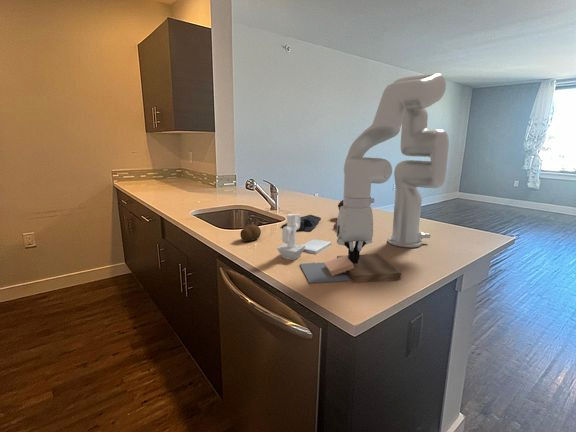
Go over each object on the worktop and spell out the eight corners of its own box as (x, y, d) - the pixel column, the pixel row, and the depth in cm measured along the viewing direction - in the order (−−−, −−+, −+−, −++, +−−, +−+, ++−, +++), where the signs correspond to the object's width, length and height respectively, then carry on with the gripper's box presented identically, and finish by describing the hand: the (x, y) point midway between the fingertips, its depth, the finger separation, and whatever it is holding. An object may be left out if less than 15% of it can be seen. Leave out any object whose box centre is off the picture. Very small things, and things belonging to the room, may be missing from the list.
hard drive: (312, 238, 127) (296, 246, 116) (331, 242, 122) (316, 250, 112) (312, 242, 127) (296, 251, 117) (331, 246, 123) (316, 255, 112)
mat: (336, 262, 104) (336, 261, 104) (350, 280, 91) (350, 279, 90) (299, 264, 102) (299, 263, 102) (309, 283, 89) (309, 282, 89)
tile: (346, 259, 100) (345, 255, 100) (354, 268, 93) (353, 263, 93) (325, 267, 99) (324, 262, 99) (331, 276, 93) (330, 271, 92)
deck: (377, 259, 107) (377, 253, 107) (400, 279, 92) (401, 272, 91) (336, 261, 105) (337, 255, 105) (353, 282, 90) (354, 275, 89)
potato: (236, 241, 126) (235, 226, 125) (251, 235, 134) (251, 221, 133) (249, 244, 123) (248, 228, 121) (264, 238, 131) (264, 223, 129)
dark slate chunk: (326, 222, 158) (326, 213, 157) (309, 233, 139) (309, 223, 138) (297, 219, 164) (297, 210, 163) (278, 229, 145) (277, 219, 144)
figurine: (275, 259, 107) (274, 215, 104) (289, 251, 115) (289, 210, 112) (294, 263, 103) (294, 218, 100) (307, 254, 111) (307, 212, 108)
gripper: (375, 199, 98) (371, 256, 102) (327, 201, 95) (326, 259, 100) (386, 204, 90) (382, 265, 95) (335, 205, 88) (333, 268, 92)
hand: (353, 262), depth 97 cm, fingers closed
